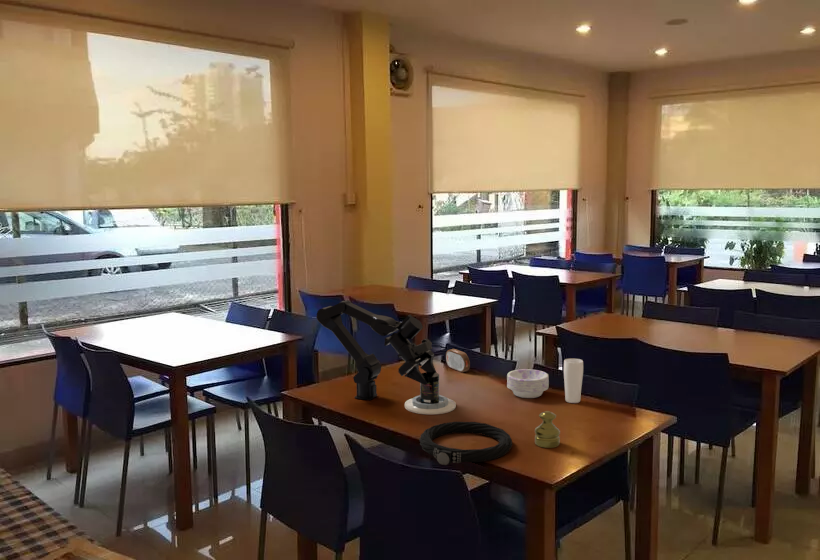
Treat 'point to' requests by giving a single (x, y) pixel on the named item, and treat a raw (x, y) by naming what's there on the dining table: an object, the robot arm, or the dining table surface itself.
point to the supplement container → (430, 388)
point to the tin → (457, 360)
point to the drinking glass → (573, 379)
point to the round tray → (430, 411)
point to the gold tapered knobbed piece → (547, 431)
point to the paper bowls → (527, 382)
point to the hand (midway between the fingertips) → (431, 380)
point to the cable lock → (460, 455)
